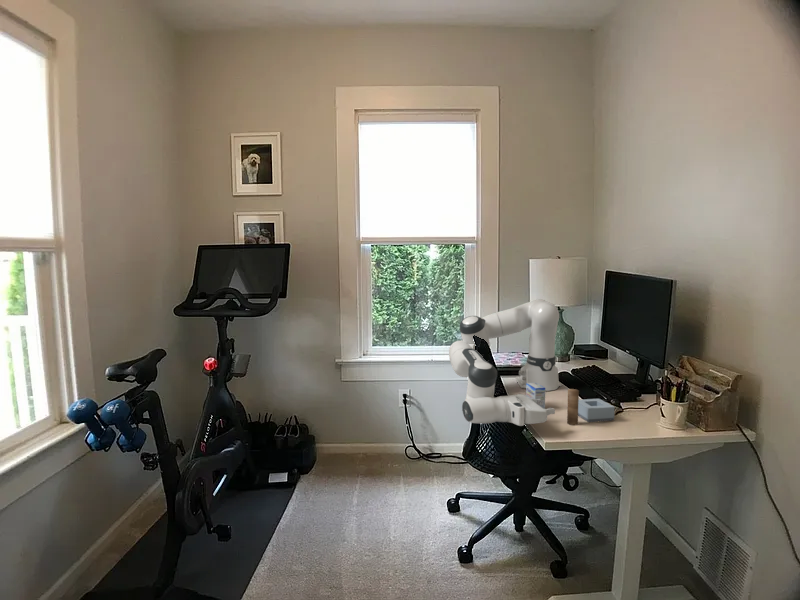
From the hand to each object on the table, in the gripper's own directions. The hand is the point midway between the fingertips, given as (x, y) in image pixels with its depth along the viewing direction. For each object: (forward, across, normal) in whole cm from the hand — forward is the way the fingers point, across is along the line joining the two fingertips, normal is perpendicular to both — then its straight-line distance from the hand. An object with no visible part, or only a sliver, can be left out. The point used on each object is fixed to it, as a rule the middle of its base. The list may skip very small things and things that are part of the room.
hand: (547, 406), depth 168 cm
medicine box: (+5, -20, -7) cm, 22 cm away
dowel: (+10, 0, -7) cm, 12 cm away
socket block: (+20, -5, -7) cm, 22 cm away
